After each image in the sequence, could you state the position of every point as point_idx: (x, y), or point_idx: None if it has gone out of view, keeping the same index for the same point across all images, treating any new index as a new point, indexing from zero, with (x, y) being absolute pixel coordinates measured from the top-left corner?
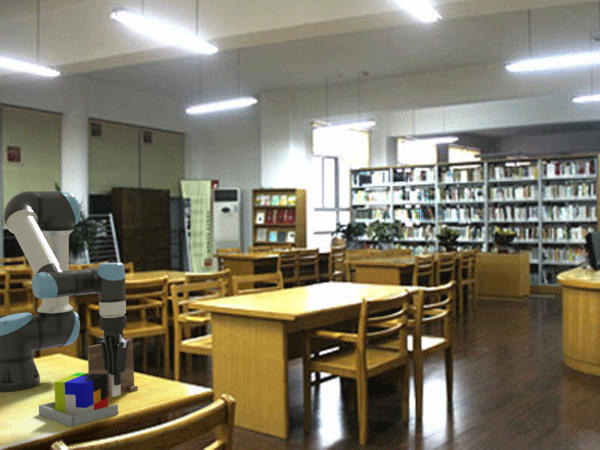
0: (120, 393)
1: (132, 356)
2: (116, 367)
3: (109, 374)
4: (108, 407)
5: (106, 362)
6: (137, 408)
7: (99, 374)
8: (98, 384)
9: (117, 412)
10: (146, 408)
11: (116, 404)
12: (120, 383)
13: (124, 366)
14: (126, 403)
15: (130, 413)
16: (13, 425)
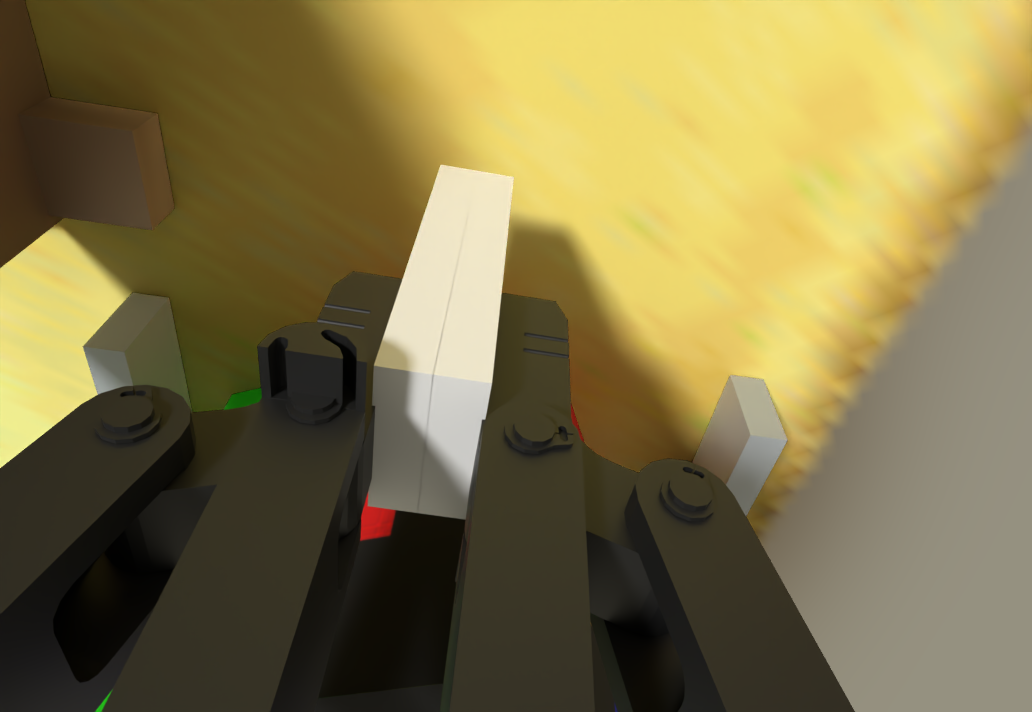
0: (510, 189)
1: None
2: (640, 697)
3: (378, 502)
4: (748, 510)
5: (111, 676)
6: (862, 179)
7: (436, 703)
8: (594, 686)
9: (765, 394)
10: (985, 127)
11: (764, 439)
12: (562, 313)
13: (779, 614)
14: (583, 100)
15: (882, 324)
16: None
